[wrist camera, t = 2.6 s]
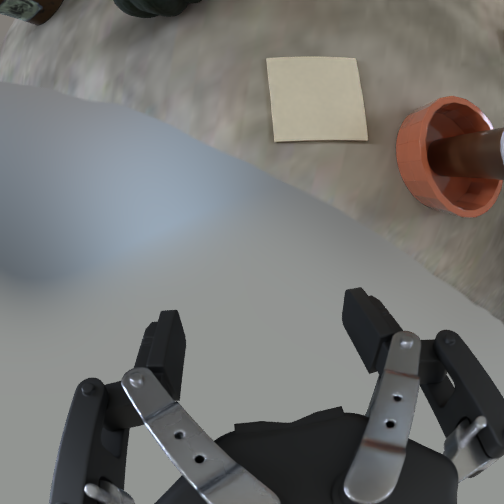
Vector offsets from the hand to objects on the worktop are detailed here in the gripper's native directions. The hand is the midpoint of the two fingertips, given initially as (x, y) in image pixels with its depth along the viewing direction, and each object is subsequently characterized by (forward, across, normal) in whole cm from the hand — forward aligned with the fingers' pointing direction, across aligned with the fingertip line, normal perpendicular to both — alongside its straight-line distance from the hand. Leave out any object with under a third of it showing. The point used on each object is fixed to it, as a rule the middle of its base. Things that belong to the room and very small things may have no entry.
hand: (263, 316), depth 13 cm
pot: (+17, -26, -6) cm, 31 cm away
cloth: (+21, -10, -12) cm, 27 cm away
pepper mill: (+17, -26, -6) cm, 31 cm away
